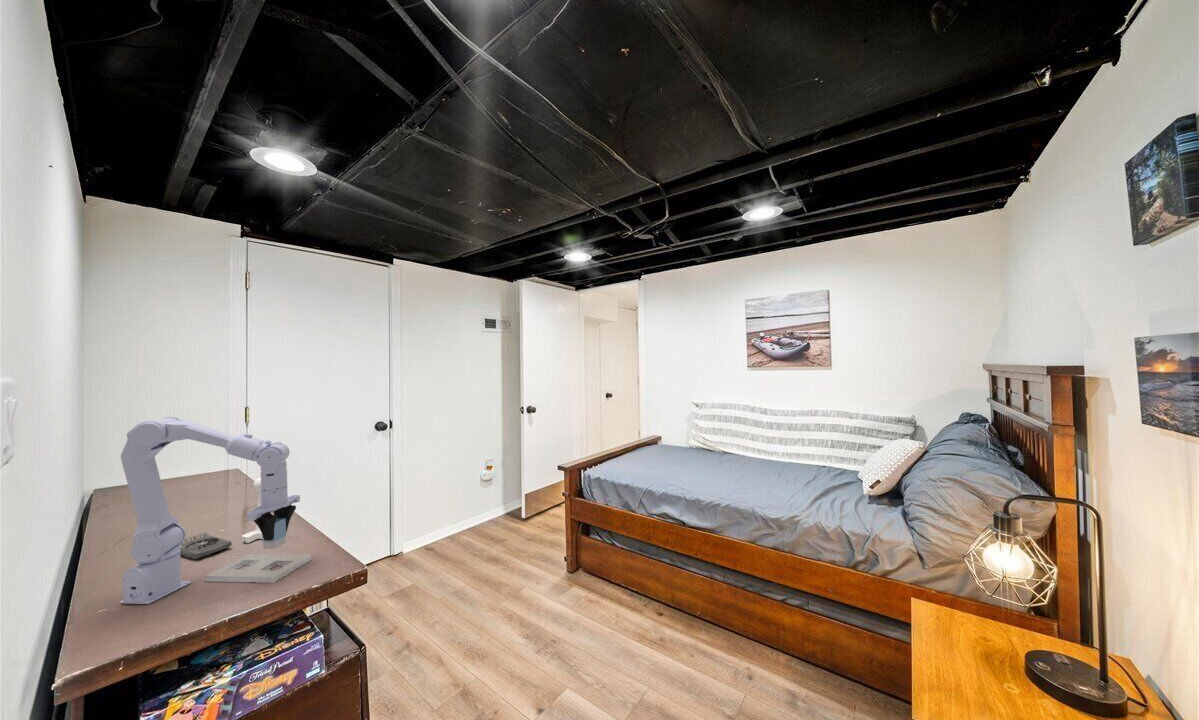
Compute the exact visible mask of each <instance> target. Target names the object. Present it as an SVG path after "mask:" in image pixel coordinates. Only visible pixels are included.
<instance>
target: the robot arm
mask: <svg viewBox="0 0 1199 720" xmlns="http://www.w3.org/2000/svg"><path fill="white" fill-rule="evenodd" d="M126 438H127V439H126V442H125V444H124V447H123V449H122V451H121V454H120V460H121V464H122V468H123V471H124V475H125V478H126V484H127V486H128V491H129V494H130V498H131V501H132V506H133V509H134V513H135V517H136V520H137V524H138V525H137V528H136V529H135V531H134V533H133V535H132V541H133V544H132V546H131V549H130V555H131V557H132V559H134V560H135V561H136V562H137V564H135V565H134V566H133V567H130V568H129V569H127V570H126V571H124V573H123V575H122V600H120V601H119V603H120V604H128V605H129V604H131V605H134V604H135V605H149V604H152V603H154V602H156V601H158V600H160V599H162V598H164V597H166V596H168V595H169V594H172V593H174V592H176V591H178V590H180V589H181V588H184V587H186V586H188V585H190V584H192V581H190V580H182V577H181V575H182V571H181V570H182V569H181V568H182V566H181V565H182V564H181V555H180V545H181V543H182V542H183V543H184V542H185V541H184V539H186V535H187V532H186V529H185V528H184V527H183V526H182V525H181V524H180V523H179V520H178V518H177V517H176V516H174V515H172V514H170V510H169V506H168V503H167V499H166V496H165V492H164V487H163V484H162V480H161V475H160V472H159V468H158V465H157V461H156V456H157V455H158V454H159V453H160V452H161V451H162V450H163V449H164V448H165V447H166V446H168V445H169V444H172V443H174V442H176V441H182V440H183V441H184V440H191V441H196V442H199V443H204V444H208V445H211V446H212V445H213V446H216V447H219V448H224V449H225V451H226V453H227V454H228V455H231V456H234V457H238V458H241V459H245V460H248V461H252V462H256V464H257V465H258V466H259V467H260V477H261V506H259V507H258V508H257V507H256V508H254V509H252V510H251V511H248V512H247V513H246V514H245V515H246V521H247V522H248V521H249V522H250V521H251V522H252V521H253V522H254V523H255V525H256V524H257V525H258V527H259V529H260V530H261V533H262V535H263V538H264V540H268V541H270V540H273V538H274V526H275V522H276V519H277V518H286V533H287V532H288V527H289V524H290V521H291V518H292V516H293V514H294V513H295V511H296V510H297V506H296V505H293V504H296V503H299V502H301V498H300V497H301V495H300V494H293V495H290V496H288V469H287V459H288V458H289V456H290V449H289V447H288V446H287V445H286V444H285V443H282V442H280V441H279V442H273V443H272V440H268V439H267V440H263V439H260V438H257V437H253V434H252V433H245V434H244V433H239V434H237V435H235V436H234V435H233V436H232V435H230V434H228V433H225V432H221V431H219V430H216V429H213V428H211V427H210V428H209V427H207V426H204V425H201V424H199V423H195V422H193V421H191V420H189V419H180V418H178V417H174V416H167V417H163V418H160V419H159V418H158V419H154V420H145V421H141V422H140V423H137V424H136V425H135V426H133V427H132V428H131V429H130V430H129V431H127V433H126Z"/></svg>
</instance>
